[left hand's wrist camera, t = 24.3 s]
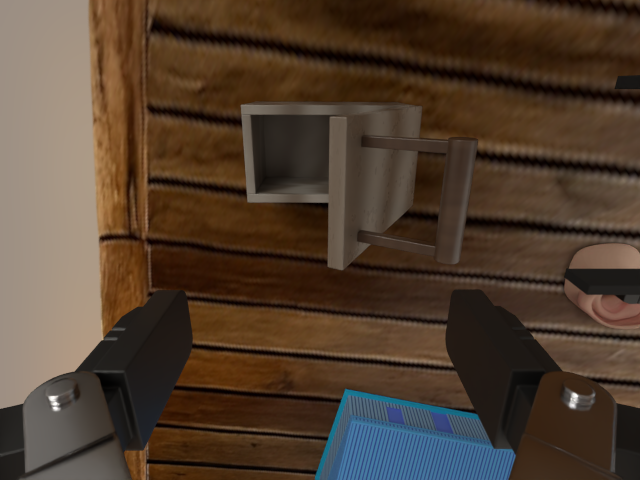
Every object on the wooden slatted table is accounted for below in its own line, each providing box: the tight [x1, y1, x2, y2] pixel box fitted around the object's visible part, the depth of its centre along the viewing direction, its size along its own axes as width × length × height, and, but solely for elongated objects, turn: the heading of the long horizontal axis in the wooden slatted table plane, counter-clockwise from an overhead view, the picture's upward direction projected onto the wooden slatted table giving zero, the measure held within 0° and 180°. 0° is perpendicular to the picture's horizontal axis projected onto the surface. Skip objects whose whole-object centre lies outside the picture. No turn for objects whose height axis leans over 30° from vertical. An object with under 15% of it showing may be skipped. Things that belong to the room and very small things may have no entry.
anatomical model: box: [564, 243, 640, 329], centre depth 52 cm, size 13×4×12 cm
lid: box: [328, 106, 478, 270], centre depth 29 cm, size 17×10×8 cm
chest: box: [241, 102, 414, 203], centre depth 43 cm, size 17×10×9 cm, turn 90°
